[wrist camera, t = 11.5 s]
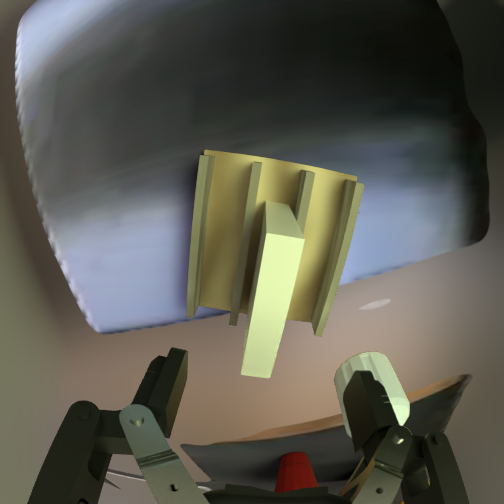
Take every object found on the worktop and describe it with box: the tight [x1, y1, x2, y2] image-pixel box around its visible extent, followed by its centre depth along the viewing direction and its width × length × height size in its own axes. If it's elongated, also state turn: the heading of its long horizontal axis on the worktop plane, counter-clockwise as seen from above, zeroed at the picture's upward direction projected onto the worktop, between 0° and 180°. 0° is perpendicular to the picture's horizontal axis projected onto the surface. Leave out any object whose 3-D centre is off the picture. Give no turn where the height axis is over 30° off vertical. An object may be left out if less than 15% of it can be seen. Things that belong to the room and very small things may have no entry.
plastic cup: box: [274, 452, 319, 493], centre depth 41 cm, size 11×11×12 cm
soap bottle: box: [334, 352, 430, 504], centre depth 26 cm, size 9×9×25 cm
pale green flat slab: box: [241, 201, 305, 378], centre depth 25 cm, size 2×12×12 cm, turn 171°
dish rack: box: [186, 150, 364, 336], centre depth 29 cm, size 16×18×4 cm
